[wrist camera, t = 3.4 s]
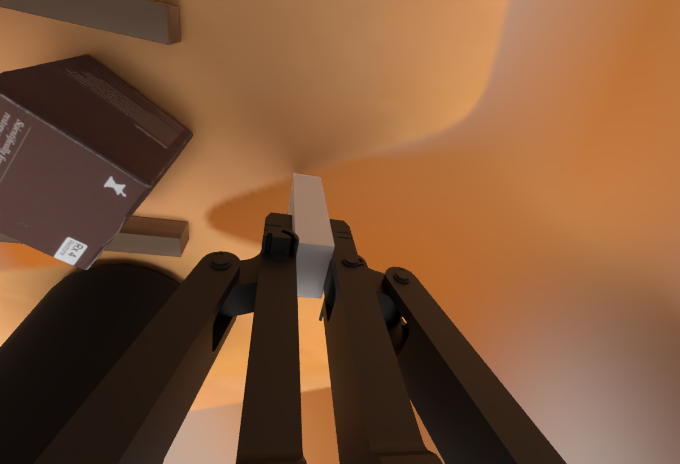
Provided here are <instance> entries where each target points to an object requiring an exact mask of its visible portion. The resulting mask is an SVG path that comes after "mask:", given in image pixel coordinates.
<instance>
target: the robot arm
mask: <svg viewBox="0 0 680 464" xmlns="http://www.w3.org/2000/svg"><path fill="white" fill-rule="evenodd" d="M323 290H324V295H325V298H324V302H323V305H322V309H321V313H320V317H319V321H322V317H323V318H324V327H325V336H326V345H327V354H328V363H329V372H330V381H331V390H332V397H333V398H332V399H333V407H334V416H335V425H336V434H337V443H338V452H339V461H340V464H443V463H442V462H441V460H440V459H439V457H438V456H437V455H436V454H435V453H433V452H431V451H429V450H427V448H426V447H425V445H424V443H423V440H422V437H421V434H420V431H419V428H418V425H417V421H416V418H415V415H414V412H413V409H412V405H411V402H412V404H413V406H414V407H415V409H416V411H417V413H418V415H419V416H420V418H421V420H422V422H423V424H424V426H425V427H426V429H427V431H428V433H429V435H430V436H431V438H432V440H433V442H434V444H435V446H436V448H437V449H438V451H439V453H440V455H441V457H442V458H443V460H444V462H445V464H566V462H565V461H564V460H563V459H562V457H561V456H560V455H559V454H558V452H557V451H556V450H555V449H554V447H553V446H552V445H551V444H550V442H549V441H548V440H547V439H546V438H545V436H544V435H543V434H542V433H541V432H540V430H539V429H538V428H537V426H536V425H535V424H534V423H533V421H532V420H531V419H530V418H529V416H527V414H526V413H525V412H524V410H523V409H522V408H521V407H520V405H519V404H518V403H517V402H516V400H515V399H514V398H513V397H512V395H511V394H510V393H509V392H508V390H507V389H506V388H505V387H504V386H503V384H502V383H501V382H500V381H499V379H498V378H497V377H496V376H495V374H494V373H493V372H492V371H491V369H490V368H489V367H488V366H487V364H486V363H485V362H484V361H483V359H482V358H481V357H480V356H479V355H478V353H477V352H476V351H475V350H474V348H473V347H472V346H471V345H470V343H469V342H468V341H467V340H466V338H465V337H464V336H463V335H462V333H461V332H460V331H459V330H458V329H457V327H456V326H455V325H454V324H453V323H452V321H451V320H450V319H449V317H448V316H447V315H446V314H445V312H444V311H443V310H442V309H441V307H440V306H439V305H438V304H437V303H436V302H435V300H434V299H433V298H432V296H431V295H430V294H429V293H428V292H427V290H426V289H425V288H424V286H423V285H422V284H421V283H420V281H419V280H418V279H417V278H416V277H415V275H413V274H412V273H411V272H410V271H408V270H406V269H404V268H400V267H391V268H388V269H387V270H386V272H385V274H384V273H381V272H378V271H374V270H372V269H369V268H368V266H367V263H366V262H365V260H364V259H363V258H362V257H360V256H359V255H358V254H357V251H356V247H355V244H354V241H353V237H352V234H351V230H350V227H349V226H348V225H347V224H346V223H345V222H344V221H341V220H333V219H329V216H328V211H327V206H326V201H325V196H324V191H323V186H322V181H321V177H318V176H311V175H305V174H298V173H293V179H292V186H291V192H290V200H289V206H288V212H287V214H279V213H270V214H269V215H268V216H267V217H266V219H265V227H264V235H263V241H262V250H261V252H260V253H259V255H257V256H256V257H254V258H251V259H247V260H241V261H240V259H239V258H238V257H237V256H236V255H234V254H232V253H229V252H222V251H220V252H213V253H210V254H207V255H206V256H205V257H203V258H202V259H201V261H200V262H199V263H198V264H197V265H196V267H195V268H194V269H193V270H192V271H191V273H190V274H189V275H188V276H187V278H186V279H185V280H184V281H183V282H182V284H181V285H180V286H179V287H178V288H177V290H176V291H175V292H174V293H173V295H172V296H171V297H170V298H169V299H168V301H167V302H166V303H165V304H164V305H163V307H162V308H161V309H160V310H159V312H158V313H157V314H156V315H155V316H154V318H153V319H152V320H151V321H150V323H149V324H148V325H147V326H146V327H145V329H144V330H143V331H142V332H141V333H140V335H139V336H138V337H137V338H136V340H135V341H134V342H133V343H132V344H131V346H130V347H129V348H128V349H127V350H126V352H125V353H124V354H123V355H122V357H121V358H120V359H119V360H118V361H117V363H116V364H115V365H114V366H113V367H112V369H111V370H110V371H109V372H108V374H107V375H106V376H105V377H104V378H103V380H102V381H101V382H100V383H99V385H98V386H97V387H96V388H95V389H94V391H93V392H92V393H91V394H90V395H89V397H88V398H87V399H86V400H85V402H84V403H83V404H82V405H81V406H80V408H79V409H78V410H77V411H76V412H75V414H74V415H73V416H72V417H71V419H70V420H69V421H68V422H67V423H66V425H65V426H64V427H63V428H62V429H61V431H60V432H59V433H58V434H57V436H56V437H55V438H54V439H53V440H52V442H51V443H50V444H49V445H48V447H47V448H46V449H45V450H44V451H43V453H42V454H41V455H40V456H39V457H38V459H37V460H36V461H35V462H34V464H162V462H163V460H164V458H165V456H166V454H167V452H168V450H169V448H170V446H171V444H172V442H173V440H174V438H175V437H176V434H177V433H178V431H179V429H180V427H181V425H182V423H183V421H184V419H185V417H186V415H187V413H188V411H189V409H190V408H191V406H192V404H193V402H194V400H195V398H196V396H197V394H198V392H199V390H200V388H201V386H202V384H203V382H204V380H205V378H206V376H207V375H208V373H209V371H210V369H211V367H212V365H213V363H214V361H215V359H216V357H217V355H218V353H219V351H220V349H221V347H222V345H223V343H224V342H225V340H226V338H227V336H228V334H229V332H230V330H231V328H232V326H233V324H234V322H235V320H236V317H237V315H242V314H247V313H252V312H254V317H253V325H252V333H251V342H250V350H249V358H248V367H247V375H246V383H245V392H244V400H243V409H242V417H241V426H240V433H239V442H238V450H237V458H236V464H307V463H306V460H305V458H304V457H303V451H302V427H301V426H302V424H301V393H300V362H299V330H298V299H297V297H308V298H322V294H323ZM402 317H403V318H404V319H405V321H406V322H407V323H405V322H404V321H403V319H402ZM409 398H410V399H409ZM410 400H411V402H410Z"/></svg>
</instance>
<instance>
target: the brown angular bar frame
mask: <svg viewBox="0 0 680 464" xmlns="http://www.w3.org/2000/svg"><path fill="white" fill-rule="evenodd" d="M0 7H3V8H8V9H12V10H16V11H21V12H25V13H30V14H34V15H39V16H43V17H47V18H52V19H56V20H61V21H65V22H70V23H74V24H78V25H83V26H87V27H92V28H96V29H101V30H105V31H109V32H114V33H118V34H123V35H127V36H132V37H136V38H141V39H145V40H149V41H154V42H158V43H163V44H167V45H170V44H174V43H178V42H181V39H180V14H179V7H178V6H174V5H170V4H166V3H162V2H158V1H154V0H0ZM188 240H189V237H188V222H182V221H172V220H163V219H154V218H145V217H136V216H131V217H130V218H129V219H128V221H127V222H126V223H125V224H124V226H123V227H122V228H121V229H120V231H119V232H118V233H117V234H116V236H115V237H114V238H113V240H112V241H111V242H110V243H109V244H108V246H107V247H106V248H105V249H104V251H116V252H128V253H139V254H151V255H163V256H175V257H181V256H182V253H183V251H184V249H185V247H186V244H187V242H188ZM0 242H9V243H21V242H19V241H17V240H15V239H12V238H10V237H8V236H6V235H4V234H1V233H0ZM21 244H23V243H21Z"/></svg>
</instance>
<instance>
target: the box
mask: <svg viewBox="0 0 680 464" xmlns="http://www.w3.org/2000/svg"><path fill="white" fill-rule="evenodd" d="M192 136H193V134H192V133H191V132H190V131H189V130H188V129H186V128H185V127H184V126H182V125H181V124H180V123H179V122H177V121H176V120H175V119H173V118H172V117H171V116H169V115H168V114H167V113H165V112H164V111H163V110H161V109H160V108H158V107H157V106H156V105H155V104H153V103H152V102H151V101H149V100H148V99H147V98H145V97H144V96H142V95H141V94H140V93H139V92H137V91H136V90H135V89H133V88H132V87H131V86H129V85H128V84H127V83H125V82H124V81H123V80H121V79H120V78H119V77H117V76H116V75H115V74H113V73H112V72H111V71H109V70H108V69H107V68H105V67H104V66H103V65H101V64H100V63H99V62H97V61H96V60H95V59H93V58H92V57H91V56H90V55H82V56H78V57H74V58H68V59H64V60H59V61H54V62H49V63H45V64H40V65H37V66H32V67H27V68H23V69H17V70H13V71H5V72H3V73H1V74H0V233H1V234H4V235H6V236H8V237H10V238H12V239H15V240H17V241H19V242H21V243H23V244H26V245H28V246H30V247H32V248H34V249H36V250H39V251H41V252H43V253H46V254H48V255H50V256H52V257H54V258H56V259H59V260H61V261H63V262H66V263H68V264H71V265H73V266H76V267H79V268H81V269H84V270H87V269H89V268H90V267H91V265H92V264H93V263H94V262H95V260H96V259H97V258H98V257H99V256H100V254H101V253H102V252H103V250H104V249H105V248H106V247H107V246H108V244H109V243H110V242H111V241H112V240H113V238H114V237H115V236H116V234H117V233H118V232H119V231H120V229H121V228H122V227H123V226H124V224H125V223H126V222H127V221H128V219H129V218H130V217H131V216H132V214H133V213H134V212H135V211H136V209H137V208H138V207H139V206H140V204H141V203H142V202H143V201H144V200H145V198H146V197H147V196H148V195H149V193H150V192H151V191H152V190H153V188H154V187H155V186H156V184H157V183H158V182H159V181H160V179H161V178H162V177H163V175H164V174H165V173H166V172H167V170H168V169H169V168H170V166H171V165H172V164H173V163H174V161H175V160H176V159H177V157H178V156H179V155H180V153H181V152H182V150H183V149H184V148H185V146H186V145H187V143H188V142H189V141H190V139H191V138H192Z"/></svg>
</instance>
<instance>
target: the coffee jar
mask: <svg viewBox="0 0 680 464" xmlns="http://www.w3.org/2000/svg"><path fill="white" fill-rule="evenodd" d="M180 285H181V284H180V283H178V282H177V281H175V280H174V279H172V278H171V277H169V276H168V275H166V274H163V273H161V272H158V271H155V270H153V269H150V268H148V267H142V266H136V265H130V264H110V265H101V266H98V267H92V268H89V269H87V270H83V271H80V272H77V273H73V274H71V275H69V276H67V277H65V278H64V279H63V280H61V281H60V282H59V283H58V284H56V285H55V286H54V287H53V288H51V290H50V291H49V292H48V293H47V294H46V295H45V296H44V298H43V299H42V300H41V301H40V302H39V303H38V304H37V306H36V307H35V308H34V309H33V310H32V311H31V313H30V314H29V315H28V316H27V317H26V318H25V319H24V321H23V322H22V323H21V324H20V325H19V326H18V327H17V329H16V330H15V331H14V332H13V333H12V334H11V335H10V337H9V338H8V339H7V340H6V341H5V342H4V343H3V345H2V346H1V347H0V464H34V462H35V461H36V460H37V459H38V457H39V456H40V455H41V454H42V453H43V451H44V450H45V449H46V448H47V447H48V445H49V444H50V443H51V442H52V440H53V439H54V438H55V437H56V436H57V434H58V433H59V432H60V431H61V429H62V428H63V427H64V426H65V425H66V423H67V422H68V421H69V420H70V419H71V417H72V416H73V415H74V414H75V412H76V411H77V410H78V409H79V408H80V406H81V405H82V404H83V403H84V402H85V400H86V399H87V398H88V397H89V395H90V394H91V393H92V392H93V391H94V389H95V388H96V387H97V386H98V385H99V383H100V382H101V381H102V380H103V378H104V377H105V376H106V375H107V374H108V372H109V371H110V370H111V369H112V367H113V366H114V365H115V364H116V363H117V361H118V360H119V359H120V358H121V357H122V355H123V354H124V353H125V352H126V350H127V349H128V348H129V347H130V346H131V344H132V343H133V342H134V341H135V340H136V338H137V337H138V336H139V335H140V333H141V332H142V331H143V330H144V329H145V327H146V326H147V325H148V324H149V323H150V321H151V320H152V319H153V318H154V316H155V315H156V314H157V313H158V312H159V310H160V309H161V308H162V307H163V305H164V304H165V303H166V302H167V301H168V299H169V298H170V297H171V296H172V295H173V293H174V292H175V291H176V290H177V288H178V287H179V286H180ZM163 461H164V460H163ZM162 464H163V462H162Z"/></svg>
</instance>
